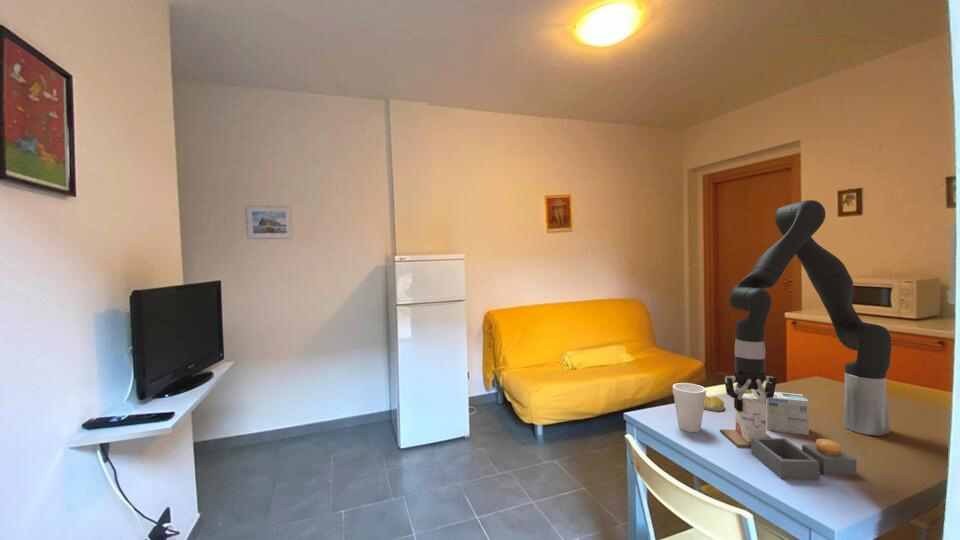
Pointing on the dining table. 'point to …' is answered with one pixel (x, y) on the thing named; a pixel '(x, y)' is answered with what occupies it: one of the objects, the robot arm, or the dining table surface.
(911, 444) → the dining table surface
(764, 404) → the ink cartridge box
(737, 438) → the walnut pad
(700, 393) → the foam cup
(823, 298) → the robot arm
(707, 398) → the bread roll
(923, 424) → the dining table surface
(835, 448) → the orange dome button
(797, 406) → the light bulb box
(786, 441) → the cartridge dock
